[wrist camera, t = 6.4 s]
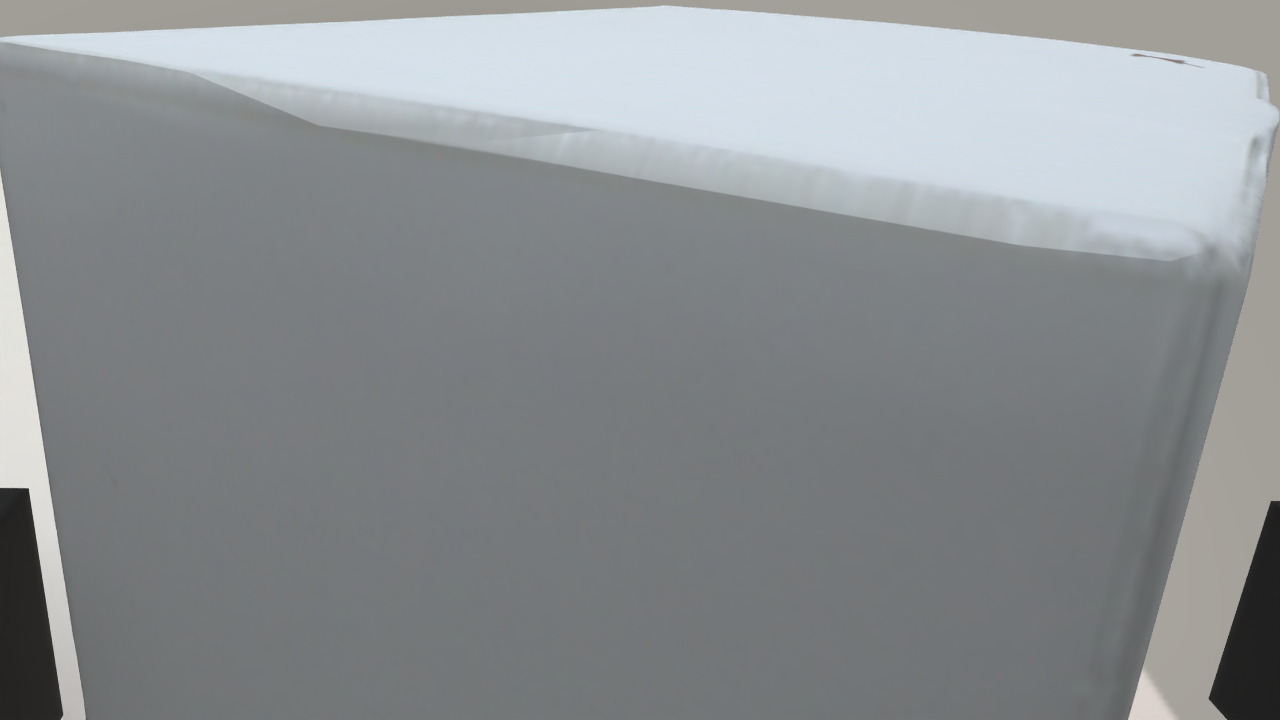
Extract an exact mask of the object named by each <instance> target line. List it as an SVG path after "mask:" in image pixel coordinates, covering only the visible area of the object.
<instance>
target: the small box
mask: <svg viewBox="0 0 1280 720" xmlns="http://www.w3.org/2000/svg"><path fill="white" fill-rule="evenodd" d="M1279 121H1280V114H1279V110H1278V109H1277V108H1276V107H1275V106H1273V105H1271V104H1270V100H1269V89H1268V77H1267V75H1266V74H1265V73H1263V72H1259V71H1256V70H1252V69H1249V68H1245V67H1242V66H1236V65H1231V64H1225V63H1220V62H1214V61H1208V60H1202V59H1197V58H1191V57H1186V56H1180V55H1174V54H1166V53H1157V52H1149V51H1141V50H1133V49H1125V48H1116V47H1109V46H1100V45H1093V44H1085V43H1076V42H1069V41H1060V40H1052V39H1044V38H1033V37H1024V36H1013V35H1004V34H995V33H984V32H975V31H965V30H954V29H945V28H935V27H925V26H915V25H906V24H895V23H883V22H870V21H858V20H847V19H834V18H822V17H809V16H797V15H785V14H773V13H760V12H746V11H732V10H717V9H702V8H689V7H677V6H665V5H664V6H658V7H640V8H620V9H598V10H579V11H560V12H540V13H519V14H497V15H474V16H473V15H472V16H448V17H429V18H411V19H393V20H375V21H355V22H333V23H306V24H281V25H257V26H237V27H216V28H195V29H177V30H176V29H175V30H155V31H136V32H135V31H133V32H112V33H84V34H54V35H25V36H12V37H0V170H1V177H2V183H3V190H4V196H5V202H6V208H7V215H8V221H9V227H10V233H11V240H12V246H13V252H14V259H15V265H16V271H17V277H18V284H19V290H20V296H21V303H22V309H23V315H24V321H25V328H26V334H27V341H28V347H29V354H30V360H31V367H32V373H33V380H34V386H35V393H36V399H37V406H38V413H39V419H40V426H41V432H42V439H43V445H44V452H45V458H46V465H47V471H48V478H49V484H50V491H51V498H52V504H53V510H54V517H55V523H56V530H57V536H58V542H59V549H60V555H61V561H62V568H63V574H64V580H65V586H66V592H67V599H68V605H69V612H70V619H71V626H72V632H73V637H74V643H75V648H76V654H77V660H78V666H79V672H80V679H81V685H82V691H83V698H84V705H85V714H86V720H1128V718H1129V714H1130V710H1131V707H1132V703H1133V700H1134V696H1135V693H1136V689H1137V685H1138V682H1139V678H1140V675H1141V671H1142V667H1143V664H1144V660H1145V656H1146V653H1147V649H1148V646H1149V642H1150V639H1151V635H1152V632H1153V628H1154V624H1155V621H1156V617H1157V614H1158V610H1159V606H1160V603H1161V599H1162V596H1163V592H1164V589H1165V585H1166V581H1167V578H1168V574H1169V570H1170V567H1171V563H1172V560H1173V556H1174V552H1175V549H1176V545H1177V541H1178V537H1179V534H1180V531H1181V527H1182V523H1183V520H1184V516H1185V512H1186V509H1187V505H1188V502H1189V498H1190V494H1191V491H1192V487H1193V483H1194V480H1195V476H1196V472H1197V469H1198V465H1199V462H1200V458H1201V454H1202V451H1203V447H1204V443H1205V440H1206V436H1207V433H1208V429H1209V425H1210V421H1211V418H1212V414H1213V410H1214V407H1215V403H1216V400H1217V396H1218V393H1219V389H1220V385H1221V381H1222V378H1223V374H1224V371H1225V367H1226V363H1227V360H1228V356H1229V353H1230V349H1231V345H1232V341H1233V338H1234V334H1235V331H1236V327H1237V324H1238V320H1239V316H1240V312H1241V309H1242V305H1243V302H1244V298H1245V294H1246V290H1247V286H1248V283H1249V279H1250V274H1251V269H1252V263H1253V257H1254V250H1255V245H1256V239H1257V233H1258V228H1259V222H1260V216H1261V210H1262V204H1263V198H1264V193H1265V187H1266V182H1267V176H1268V171H1269V166H1270V161H1271V155H1272V150H1273V146H1274V142H1275V137H1276V133H1277V129H1278V124H1279Z"/></svg>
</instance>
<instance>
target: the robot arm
mask: <svg viewBox="0 0 1280 720" xmlns="http://www.w3.org/2000/svg"><path fill="white" fill-rule="evenodd" d="M1209 700H1210V701H1211V702H1212V703H1213V704H1214V705H1215V706H1216V708H1217V709H1218V710H1219V711H1220V712H1221V713H1222V714H1223V715H1224V717H1225V718H1226V719H1227V720H1280V501H1271V503H1270V506H1269V509H1268V512H1267V516H1266V519H1265V522H1264V525H1263V528H1262V531H1261V535H1260V538H1259V541H1258V544H1257V547H1256V550H1255V554H1254V557H1253V560H1252V563H1251V566H1250V570H1249V573H1248V576H1247V579H1246V582H1245V585H1244V588H1243V592H1242V595H1241V598H1240V601H1239V604H1238V607H1237V611H1236V614H1235V617H1234V620H1233V623H1232V626H1231V630H1230V633H1229V636H1228V639H1227V642H1226V645H1225V649H1224V652H1223V655H1222V658H1221V661H1220V664H1219V668H1218V671H1217V674H1216V678H1215V680H1214V683H1213V686H1212V690H1211V693H1210V696H1209ZM62 716H63V710H62V703H61V697H60V690H59V684H58V677H57V671H56V664H55V658H54V651H53V645H52V638H51V632H50V625H49V619H48V612H47V606H46V599H45V593H44V586H43V580H42V573H41V567H40V560H39V554H38V547H37V541H36V534H35V528H34V521H33V515H32V508H31V501H30V495H29V488H0V720H61V718H62Z"/></svg>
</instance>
